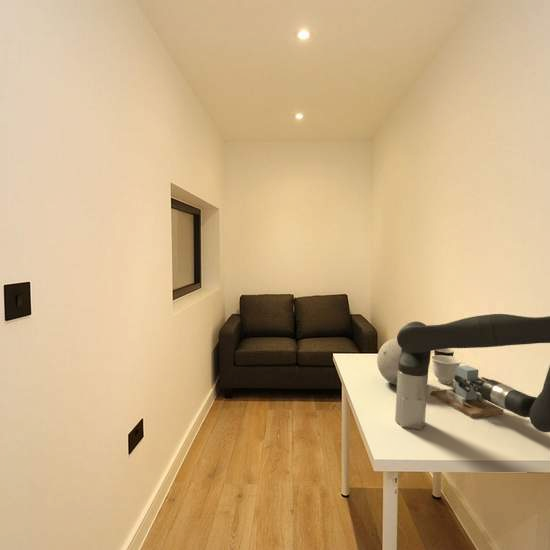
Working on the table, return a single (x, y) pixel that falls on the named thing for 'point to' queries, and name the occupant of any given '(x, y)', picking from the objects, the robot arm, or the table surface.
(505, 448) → the table surface
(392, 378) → the moon model
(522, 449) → the table surface
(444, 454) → the table surface
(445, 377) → the teacup
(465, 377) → the block
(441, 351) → the coffee mug
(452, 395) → the plate
